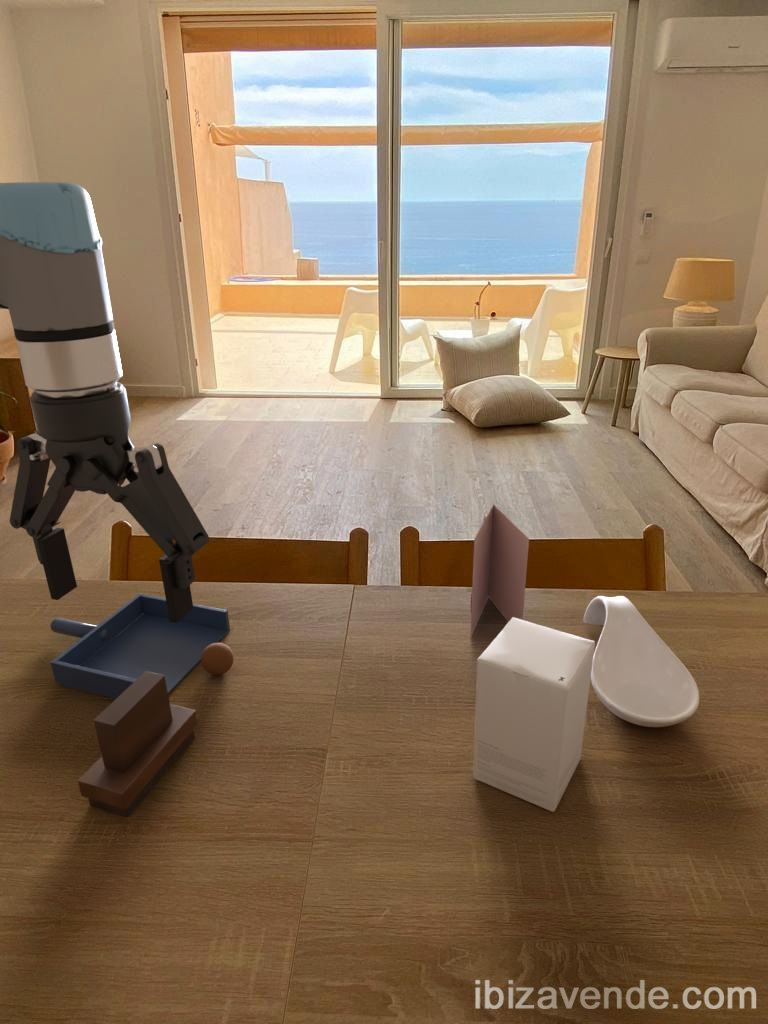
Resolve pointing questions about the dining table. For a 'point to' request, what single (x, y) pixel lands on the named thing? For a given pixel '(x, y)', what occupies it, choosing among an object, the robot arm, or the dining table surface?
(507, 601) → the greeting card
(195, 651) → the dustpan
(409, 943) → the dining table surface
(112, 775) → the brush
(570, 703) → the white product box
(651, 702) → the spoon rest
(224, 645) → the cork ball
